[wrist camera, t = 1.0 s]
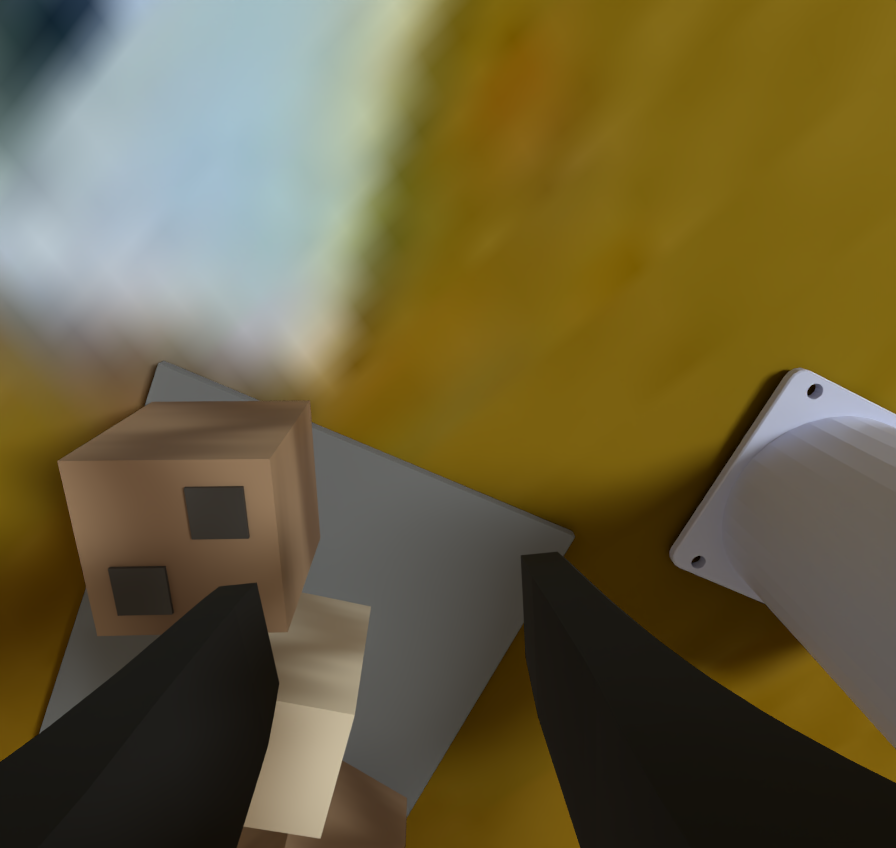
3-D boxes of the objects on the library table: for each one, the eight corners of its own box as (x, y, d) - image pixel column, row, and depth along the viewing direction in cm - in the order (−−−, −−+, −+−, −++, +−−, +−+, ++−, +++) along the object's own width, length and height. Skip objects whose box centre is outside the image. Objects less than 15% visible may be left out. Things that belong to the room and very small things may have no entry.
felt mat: (572, 531, 21) (575, 536, 21) (377, 857, 26) (376, 867, 26) (163, 360, 18) (158, 363, 18) (35, 757, 23) (28, 766, 23)
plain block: (371, 606, 21) (354, 715, 16) (342, 711, 23) (320, 838, 18) (233, 578, 21) (175, 682, 16) (213, 687, 22) (155, 812, 17)
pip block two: (310, 400, 19) (268, 460, 14) (320, 538, 20) (286, 634, 15) (152, 401, 18) (55, 462, 14) (175, 540, 20) (95, 638, 15)
